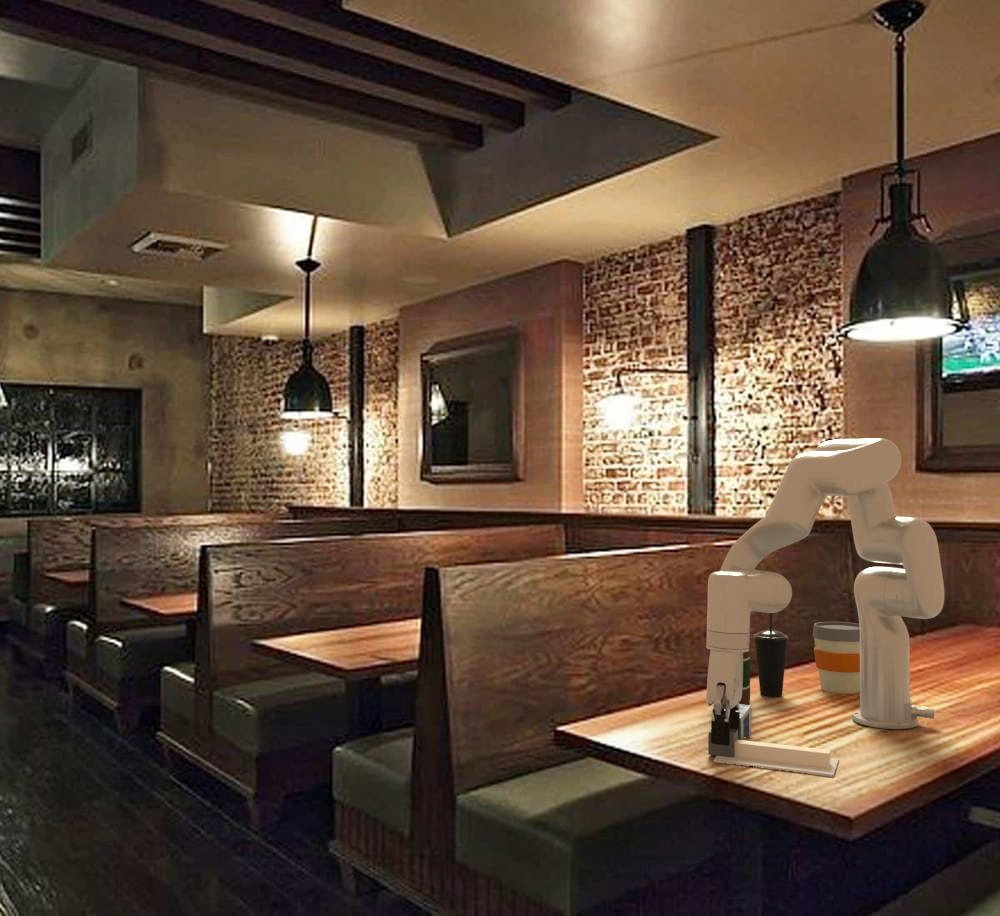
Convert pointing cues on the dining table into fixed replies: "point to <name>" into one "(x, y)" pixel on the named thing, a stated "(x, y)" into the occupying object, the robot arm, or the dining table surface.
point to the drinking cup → (771, 660)
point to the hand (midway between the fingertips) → (725, 738)
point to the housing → (745, 721)
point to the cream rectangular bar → (770, 751)
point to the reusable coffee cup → (838, 656)
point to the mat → (781, 765)
